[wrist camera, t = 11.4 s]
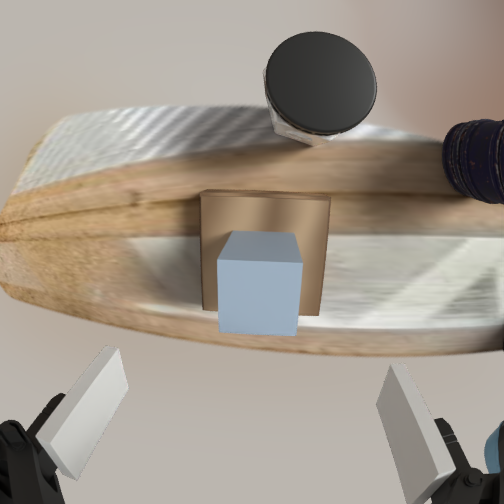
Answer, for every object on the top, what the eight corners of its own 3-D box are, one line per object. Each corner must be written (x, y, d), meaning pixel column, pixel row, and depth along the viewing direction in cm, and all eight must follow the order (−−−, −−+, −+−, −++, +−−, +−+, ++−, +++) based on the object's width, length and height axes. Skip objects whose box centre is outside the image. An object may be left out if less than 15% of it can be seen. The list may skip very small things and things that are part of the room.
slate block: (294, 232, 29) (302, 262, 21) (290, 289, 31) (296, 335, 23) (233, 230, 30) (217, 259, 21) (232, 286, 32) (219, 332, 23)
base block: (325, 193, 32) (332, 198, 28) (315, 302, 36) (319, 318, 32) (206, 189, 33) (198, 193, 29) (208, 297, 37) (201, 312, 33)
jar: (254, 128, 30) (243, 110, 19) (276, 63, 28) (278, 16, 17) (332, 155, 31) (365, 153, 19) (353, 90, 28) (393, 58, 17)
